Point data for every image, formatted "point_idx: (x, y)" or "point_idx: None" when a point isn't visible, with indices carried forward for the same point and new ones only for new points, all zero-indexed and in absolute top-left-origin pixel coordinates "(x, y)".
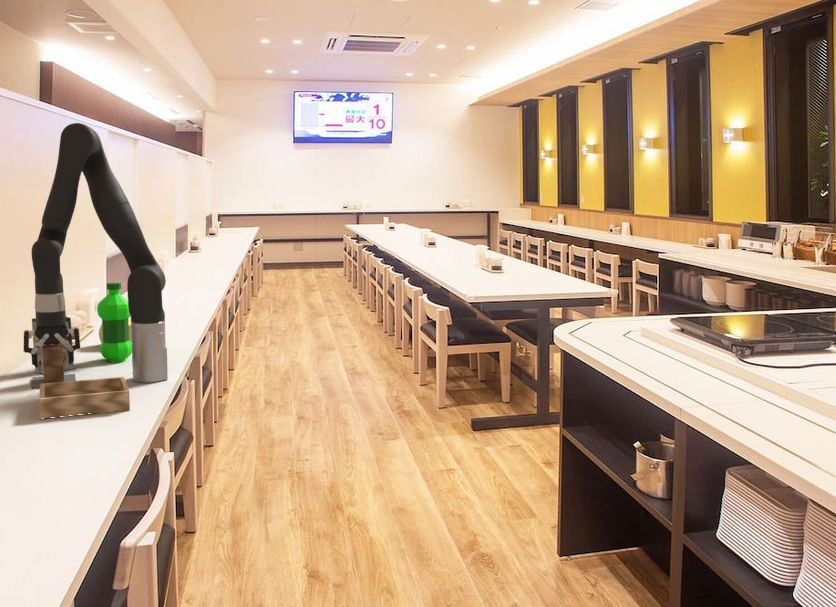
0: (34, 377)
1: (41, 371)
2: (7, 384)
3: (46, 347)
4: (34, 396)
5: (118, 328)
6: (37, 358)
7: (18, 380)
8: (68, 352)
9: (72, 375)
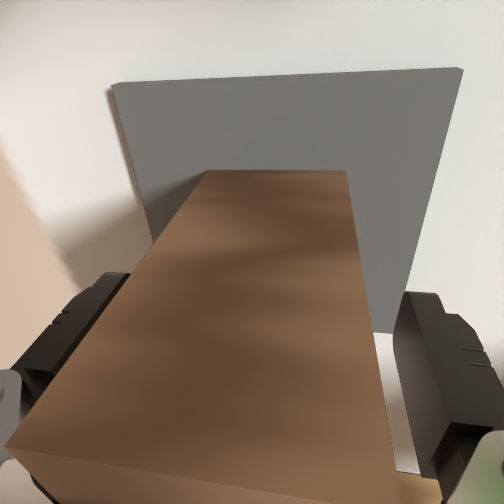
0: (127, 102)
1: None
2: (16, 176)
3: None
4: None
5: None
6: (94, 321)
7: (31, 85)
8: (423, 473)
9: (421, 137)
